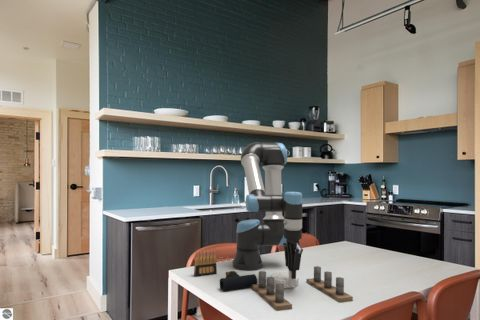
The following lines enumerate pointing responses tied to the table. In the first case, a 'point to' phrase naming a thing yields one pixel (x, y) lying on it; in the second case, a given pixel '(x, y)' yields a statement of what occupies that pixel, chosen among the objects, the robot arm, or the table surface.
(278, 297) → the rails
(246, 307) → the table surface
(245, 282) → the pipe connector
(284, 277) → the mooncake
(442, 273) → the table surface
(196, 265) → the ammunition clip
